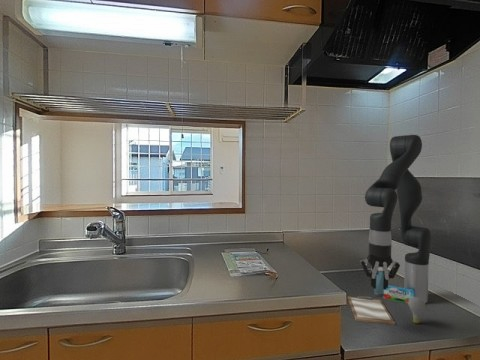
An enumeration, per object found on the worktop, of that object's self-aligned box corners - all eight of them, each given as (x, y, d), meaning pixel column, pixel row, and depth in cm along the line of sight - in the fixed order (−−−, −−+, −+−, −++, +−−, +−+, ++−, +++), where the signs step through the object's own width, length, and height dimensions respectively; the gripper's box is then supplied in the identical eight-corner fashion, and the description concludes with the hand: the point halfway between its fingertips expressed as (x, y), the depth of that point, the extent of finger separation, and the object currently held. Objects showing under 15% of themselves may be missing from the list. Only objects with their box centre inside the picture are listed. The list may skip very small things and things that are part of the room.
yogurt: (383, 298, 131) (383, 285, 131) (383, 297, 132) (383, 284, 132) (413, 305, 125) (414, 291, 125) (413, 303, 127) (414, 289, 126)
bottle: (376, 292, 109) (377, 263, 108) (385, 295, 106) (386, 266, 106) (371, 294, 107) (372, 265, 106) (381, 297, 104) (381, 267, 104)
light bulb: (404, 320, 112) (405, 295, 111) (414, 318, 114) (415, 293, 113) (417, 328, 107) (418, 301, 106) (428, 325, 108) (428, 299, 108)
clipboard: (347, 298, 131) (347, 294, 131) (380, 301, 128) (380, 298, 128) (355, 320, 112) (355, 316, 112) (395, 325, 109) (395, 320, 109)
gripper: (361, 243, 103) (360, 290, 104) (404, 245, 101) (403, 294, 101) (357, 238, 111) (356, 282, 111) (397, 240, 108) (396, 285, 109)
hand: (379, 288), depth 106 cm, fingers closed on bottle, 3 cm apart
